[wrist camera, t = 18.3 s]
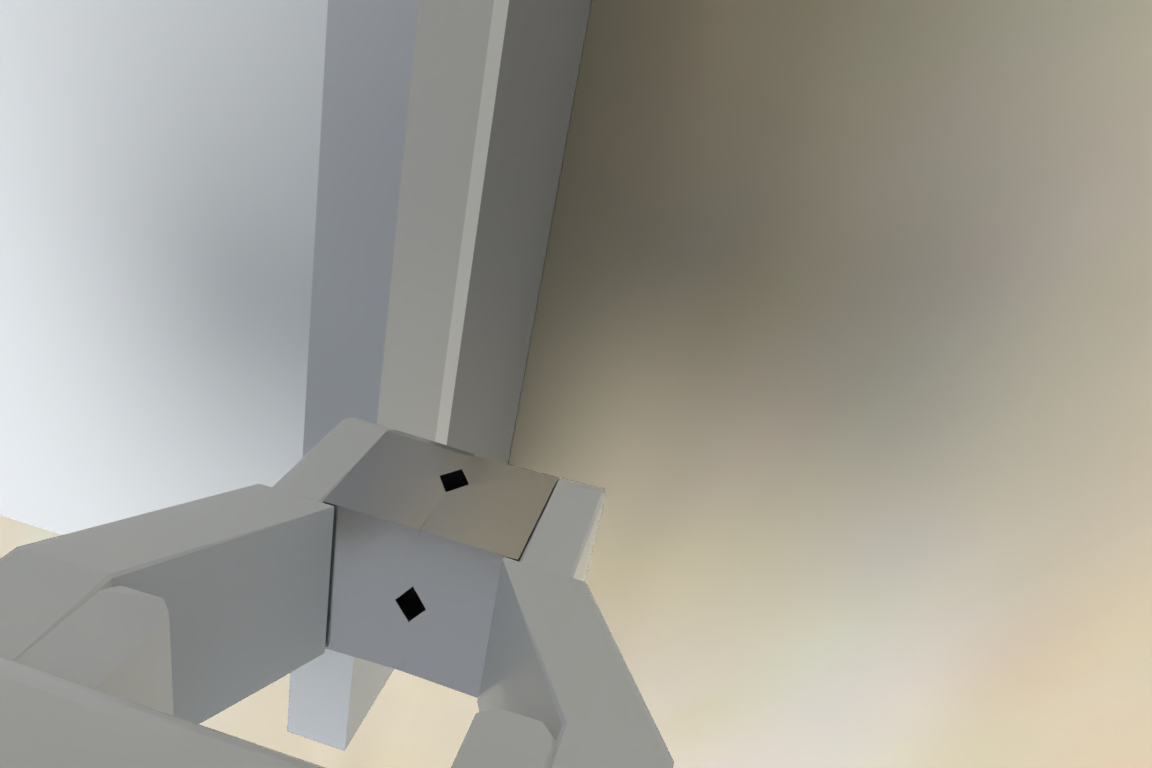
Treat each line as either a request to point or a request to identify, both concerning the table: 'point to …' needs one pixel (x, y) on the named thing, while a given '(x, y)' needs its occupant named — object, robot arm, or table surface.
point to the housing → (515, 218)
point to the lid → (232, 251)
